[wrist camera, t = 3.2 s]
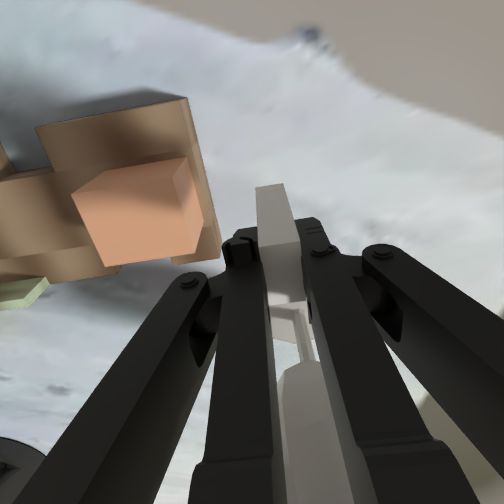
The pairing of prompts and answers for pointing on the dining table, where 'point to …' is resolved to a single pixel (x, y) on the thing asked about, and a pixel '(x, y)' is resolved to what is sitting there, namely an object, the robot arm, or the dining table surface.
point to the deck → (77, 175)
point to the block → (142, 212)
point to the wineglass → (307, 418)
